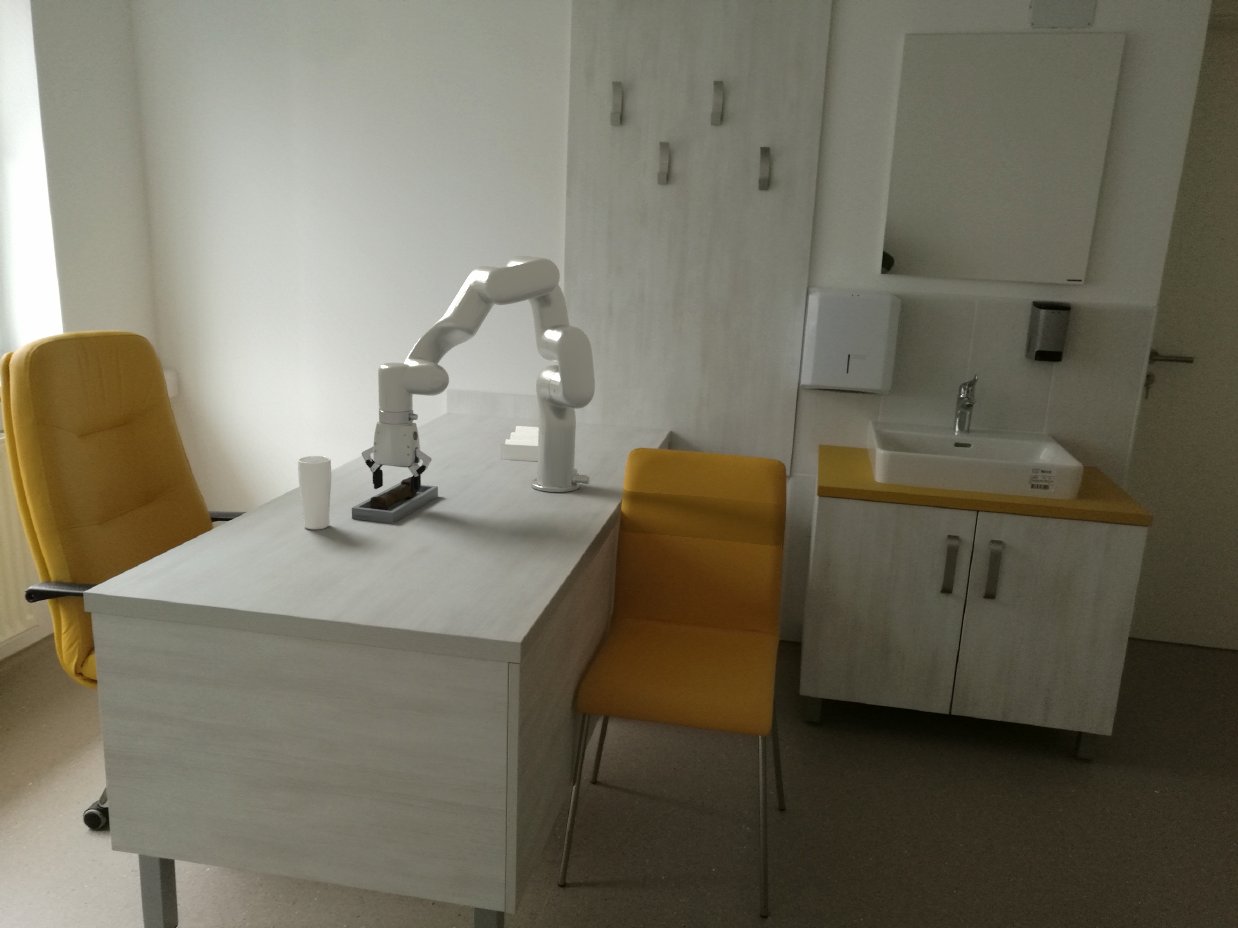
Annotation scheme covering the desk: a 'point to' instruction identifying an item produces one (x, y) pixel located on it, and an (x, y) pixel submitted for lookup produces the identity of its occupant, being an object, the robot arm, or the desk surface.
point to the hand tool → (393, 496)
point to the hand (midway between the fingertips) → (396, 489)
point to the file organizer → (521, 444)
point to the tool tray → (395, 506)
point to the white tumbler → (315, 490)
